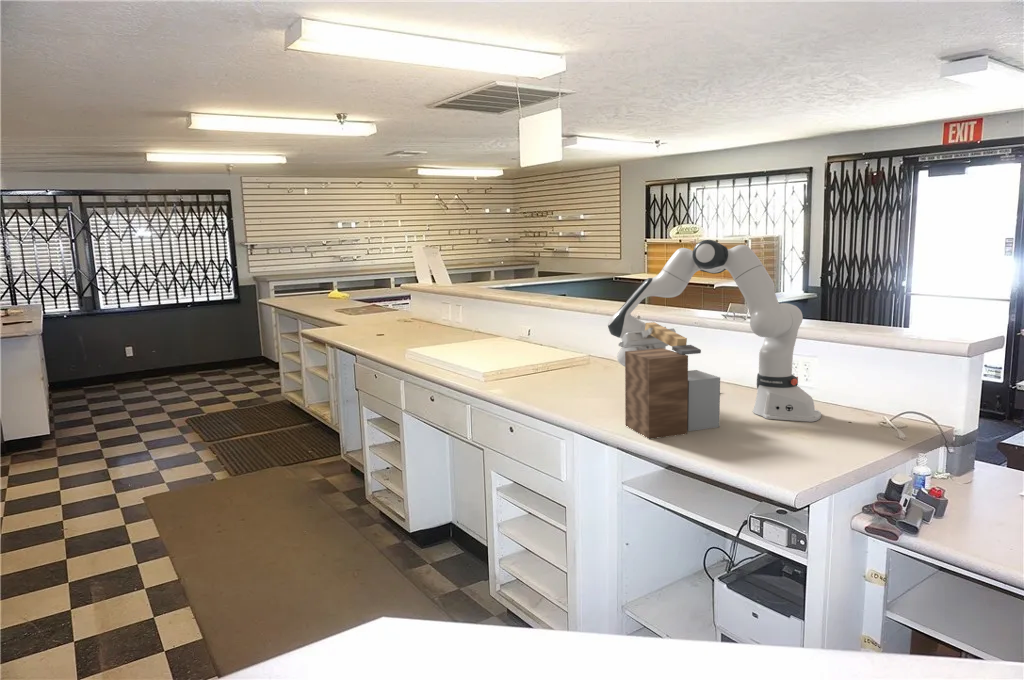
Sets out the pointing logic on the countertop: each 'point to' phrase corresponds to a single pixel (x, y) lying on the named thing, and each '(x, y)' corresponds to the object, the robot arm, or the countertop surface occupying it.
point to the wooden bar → (672, 339)
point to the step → (703, 401)
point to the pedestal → (656, 392)
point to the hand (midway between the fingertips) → (658, 329)
